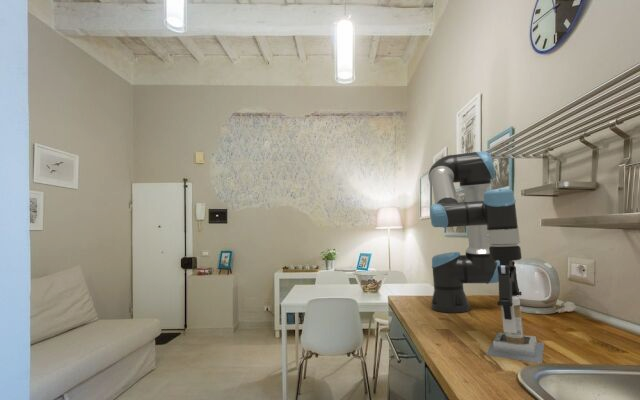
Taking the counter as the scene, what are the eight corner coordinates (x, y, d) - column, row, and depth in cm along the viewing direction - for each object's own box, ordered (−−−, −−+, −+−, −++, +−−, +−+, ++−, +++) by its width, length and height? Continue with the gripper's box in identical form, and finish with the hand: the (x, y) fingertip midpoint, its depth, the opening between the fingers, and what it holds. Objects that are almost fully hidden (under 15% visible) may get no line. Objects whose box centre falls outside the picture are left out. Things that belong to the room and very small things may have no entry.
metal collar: (499, 341, 93) (498, 332, 93) (537, 346, 87) (535, 336, 88) (494, 351, 85) (493, 341, 86) (535, 357, 80) (533, 346, 80)
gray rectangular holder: (495, 340, 96) (495, 337, 96) (544, 346, 89) (544, 343, 89) (486, 358, 83) (485, 354, 83) (542, 367, 76) (541, 363, 76)
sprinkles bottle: (525, 347, 87) (519, 295, 89) (525, 352, 83) (519, 298, 85) (506, 344, 90) (500, 294, 91) (505, 350, 86) (499, 297, 87)
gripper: (495, 243, 102) (503, 313, 99) (480, 248, 82) (489, 336, 79) (524, 242, 97) (532, 315, 95) (514, 247, 77) (525, 340, 75)
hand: (513, 325), depth 87 cm, fingers open, 13 cm apart
